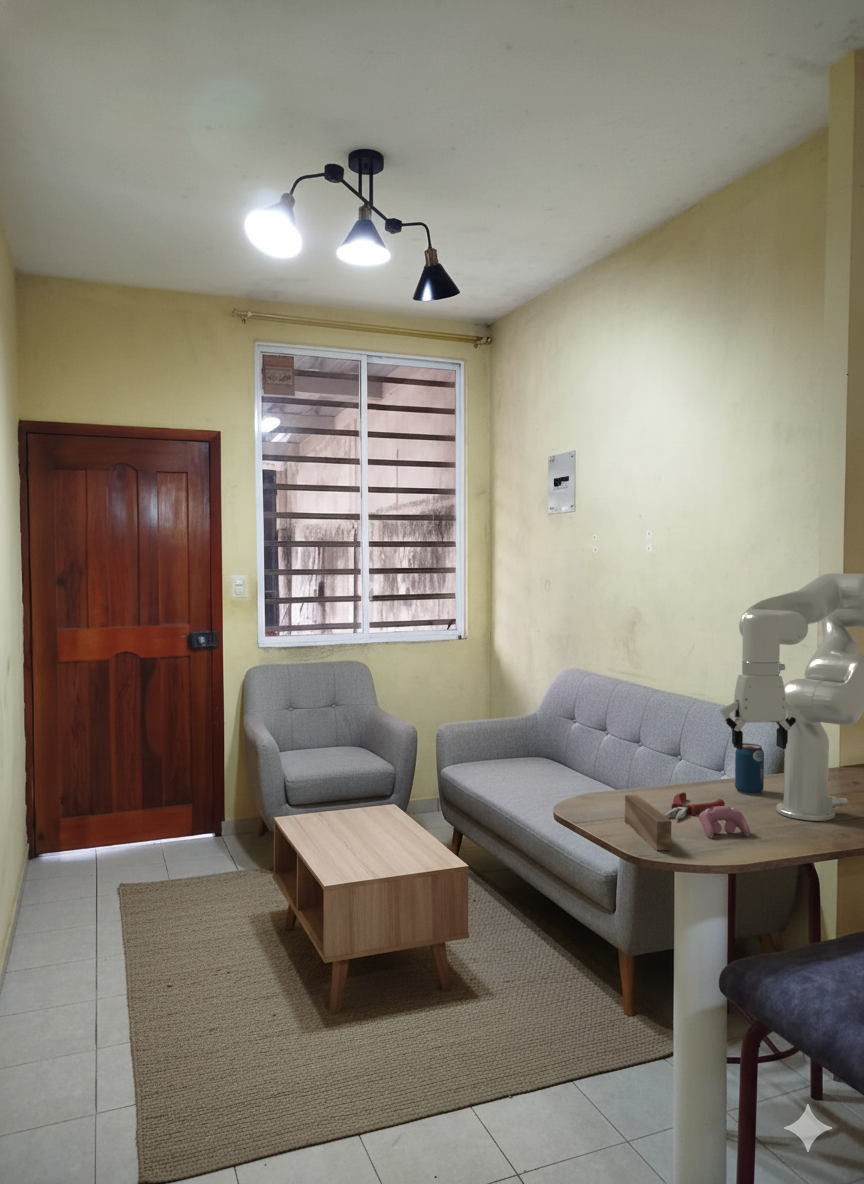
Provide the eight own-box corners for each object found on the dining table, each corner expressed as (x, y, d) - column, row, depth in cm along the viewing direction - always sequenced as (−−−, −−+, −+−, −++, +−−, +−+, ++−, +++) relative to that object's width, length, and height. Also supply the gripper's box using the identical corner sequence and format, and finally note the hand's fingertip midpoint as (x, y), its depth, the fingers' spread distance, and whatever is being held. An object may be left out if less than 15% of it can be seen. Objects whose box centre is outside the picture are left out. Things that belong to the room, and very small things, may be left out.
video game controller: (743, 839, 186) (736, 807, 189) (753, 836, 182) (746, 803, 185) (700, 841, 185) (694, 808, 188) (709, 837, 181) (703, 804, 183)
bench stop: (637, 821, 193) (638, 795, 193) (670, 850, 173) (671, 821, 173) (624, 821, 193) (625, 795, 193) (656, 851, 173) (657, 821, 173)
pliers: (645, 818, 197) (645, 807, 197) (680, 800, 213) (681, 790, 213) (693, 828, 190) (693, 817, 190) (726, 809, 206) (726, 798, 206)
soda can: (768, 795, 217) (769, 748, 216) (741, 795, 216) (742, 748, 216) (756, 788, 224) (756, 742, 223) (730, 788, 223) (731, 742, 223)
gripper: (791, 667, 189) (790, 743, 190) (714, 667, 188) (713, 744, 189) (808, 671, 182) (806, 751, 183) (728, 672, 181) (727, 752, 182)
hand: (759, 747), depth 186 cm, fingers open, 9 cm apart
